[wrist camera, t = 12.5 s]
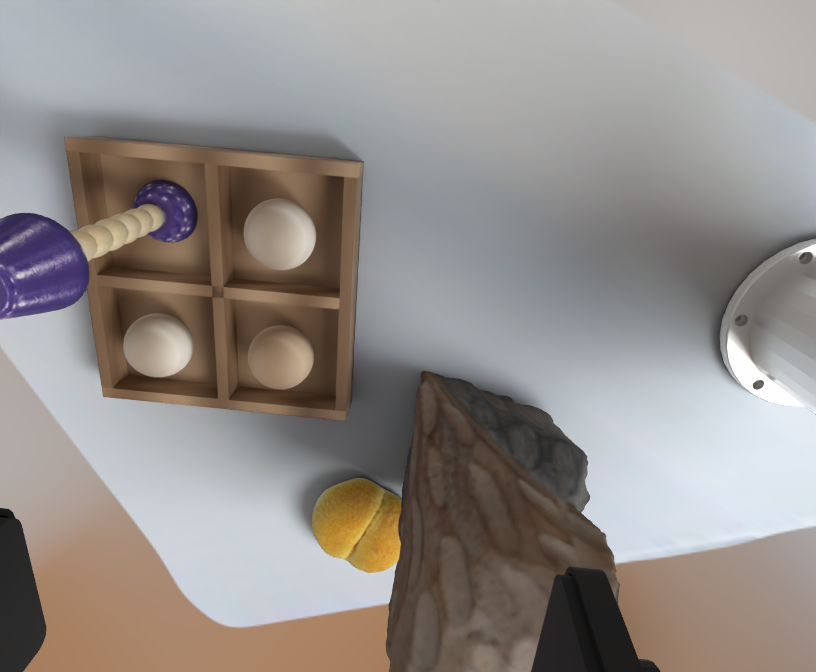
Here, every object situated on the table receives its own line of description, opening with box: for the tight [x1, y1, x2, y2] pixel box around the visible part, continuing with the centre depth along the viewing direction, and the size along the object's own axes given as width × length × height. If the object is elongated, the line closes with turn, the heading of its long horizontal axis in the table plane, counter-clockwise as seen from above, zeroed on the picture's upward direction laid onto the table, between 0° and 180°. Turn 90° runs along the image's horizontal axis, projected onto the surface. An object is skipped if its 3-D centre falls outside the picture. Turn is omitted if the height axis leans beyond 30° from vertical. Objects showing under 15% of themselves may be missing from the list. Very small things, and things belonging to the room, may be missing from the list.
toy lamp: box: [0, 180, 198, 320], centre depth 29 cm, size 5×5×17 cm
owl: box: [386, 371, 620, 672], centre depth 34 cm, size 13×13×20 cm
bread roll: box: [312, 478, 402, 573], centre depth 45 cm, size 8×9×4 cm
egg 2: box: [244, 198, 316, 270], centre depth 34 cm, size 5×5×5 cm
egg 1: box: [123, 313, 194, 377], centre depth 38 cm, size 5×5×5 cm
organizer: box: [64, 136, 364, 421], centre depth 38 cm, size 18×18×3 cm
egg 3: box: [248, 325, 314, 389], centre depth 38 cm, size 5×5×5 cm
